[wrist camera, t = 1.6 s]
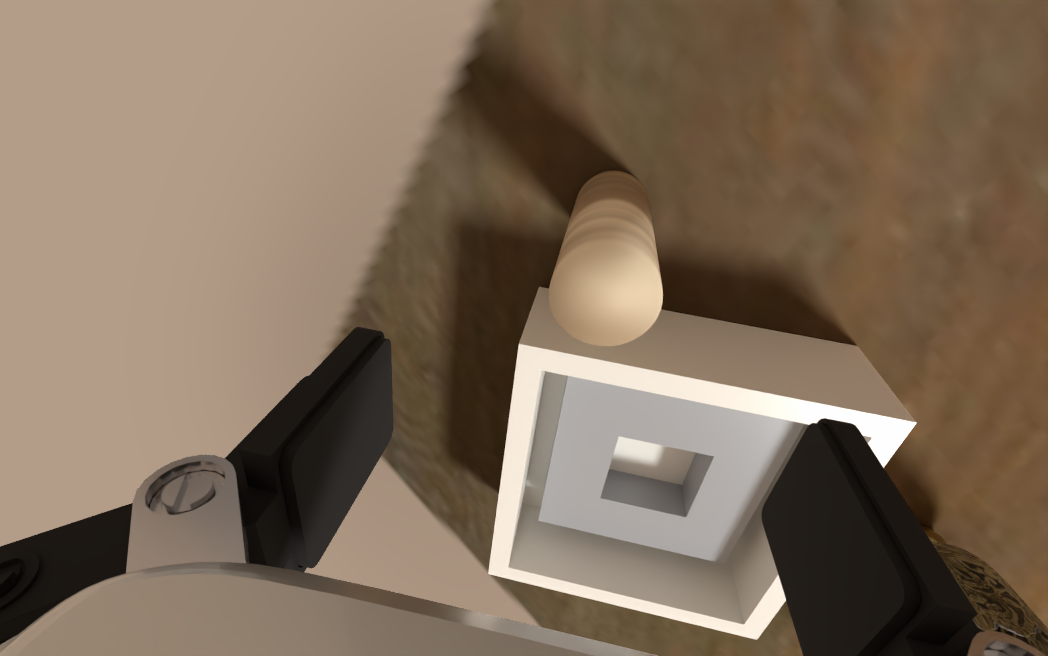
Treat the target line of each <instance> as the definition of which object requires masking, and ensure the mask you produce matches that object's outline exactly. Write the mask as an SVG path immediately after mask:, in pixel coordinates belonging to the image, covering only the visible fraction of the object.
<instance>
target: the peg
mask: <svg viewBox="0 0 1048 656" xmlns="http://www.w3.org/2000/svg"><path fill="white" fill-rule="evenodd" d="M662 303H663V289H662V282H661V276H660V269H659V263H658V257H657V250H656V244H655V237H654V231H653V224H652V218H651V211H650V205H649V199H648V195H647V192H646V190H645V188H644V186H643V185H642V184H641V182H640V181H639V180H638V179H636V178H635V177H634V176H632V175H630V174H628V173H625V172H622V171H605V172H602V173H599V174H597V175H595V176H593V177H592V178H590V179H589V180H588V181H587V182H586V183H585V184H584V185H583V186H582V188H581V189H580V191H579V193H578V196H577V199H576V202H575V205H574V208H573V211H572V215H571V218H570V221H569V224H568V228H567V231H566V234H565V237H564V240H563V244H562V247H561V250H560V253H559V256H558V260H557V263H556V266H555V269H554V272H553V276H552V279H551V282H550V286H549V304H550V308H551V311H552V314H553V316H554V318H555V320H556V321H557V322H558V324H559V325H560V326H561V327H562V328H563V330H565V331H566V332H567V333H568V334H569V335H571V336H572V337H574V338H576V339H578V340H580V341H582V342H585V343H588V344H591V345H597V346H616V345H621V344H624V343H628V342H630V341H632V340H635V339H636V338H638V337H640V336H641V335H643V334H644V333H645V332H646V331H647V330H648V329H649V328H650V327H651V326H652V325H653V324H654V322H655V321H656V319H657V317H658V316H659V313H660V311H661V307H662Z"/></svg>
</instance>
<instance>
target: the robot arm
mask: <svg viewBox="0 0 1048 656" xmlns="http://www.w3.org/2000/svg"><path fill="white" fill-rule="evenodd" d="M392 432H393V400H392V364H391V342H390V340H389V339H385V338H384V334H383V333H382V332H381V331H376V330H371V329H366V328H361V327H356V328H355V329H354V330H353V331H352V332H351V333H350V334H349V335H348V336H347V337H346V338H345V339H344V340H343V341H342V342H341V343H340V344H339V345H338V346H337V347H336V348H335V349H334V350H333V352H332V353H331V354H330V355H329V356H328V357H327V358H326V359H325V360H324V361H323V362H322V363H321V364H320V365H319V366H318V367H317V368H316V369H315V370H314V371H313V372H312V373H311V375H309V376H306V377H304V378H303V379H302V380H301V381H300V382H299V383H298V384H297V385H296V386H295V387H294V388H293V389H292V390H291V391H290V392H289V393H288V394H287V395H286V396H285V397H284V398H283V399H282V400H281V401H280V402H279V403H278V404H277V405H276V406H275V407H274V408H273V409H272V410H271V411H270V412H269V413H268V414H267V416H266V417H265V418H264V419H263V420H262V421H261V422H260V423H259V424H258V425H257V426H256V427H255V428H254V429H253V430H252V431H251V432H250V433H249V434H248V435H247V436H246V437H245V438H244V439H243V440H242V441H241V442H240V443H239V444H238V445H237V447H236V448H235V449H233V451H232V452H231V453H230V454H229V455H228V456H227V457H226V458H221V457H218V456H215V455H197V456H191V457H186V458H183V459H180V460H177V461H174V462H171V463H169V464H168V465H166V466H164V467H162V468H160V469H158V470H157V471H156V472H154V473H153V474H152V475H150V476H149V477H148V478H147V479H145V480H144V482H143V483H142V484H141V486H140V487H139V488H138V490H137V491H136V494H135V497H134V500H133V503H132V504H129V505H125V506H122V507H119V508H116V509H113V510H110V511H107V512H104V513H101V514H98V515H95V516H92V517H89V518H86V519H83V520H80V521H77V522H74V523H71V524H68V525H65V526H62V527H59V528H55V529H53V530H49V531H46V532H43V533H40V534H38V535H34V536H31V537H28V538H25V539H22V540H19V541H16V542H13V543H10V544H7V545H4V546H1V547H0V656H658V655H653V654H649V653H645V652H641V651H637V650H633V649H629V648H625V647H621V646H616V645H612V644H608V643H604V642H600V641H596V640H592V639H588V638H584V637H579V636H575V635H571V634H567V633H563V632H559V631H555V630H550V629H546V628H542V627H538V626H534V625H529V624H525V623H521V622H517V621H513V620H509V619H505V618H500V617H496V616H492V615H488V614H484V613H479V612H475V611H471V610H467V609H463V608H458V607H453V606H450V605H446V604H441V603H437V602H433V601H429V600H424V599H420V598H416V597H412V596H408V595H403V594H399V593H395V592H391V591H386V590H382V589H378V588H373V587H369V586H364V585H360V584H355V583H350V582H346V581H341V580H336V579H332V578H328V577H323V576H318V575H313V574H309V573H305V572H304V571H305V570H306V568H307V567H308V568H314V567H315V566H316V565H317V563H318V562H319V560H320V559H321V557H322V555H323V554H324V552H325V550H326V548H327V547H328V545H329V543H330V542H331V540H332V538H333V537H334V535H335V533H336V532H337V530H338V528H339V526H340V525H341V523H342V521H343V520H344V518H345V516H346V515H347V513H348V511H349V510H350V508H351V506H352V504H353V503H354V501H355V499H356V498H357V496H358V494H359V492H360V491H361V489H362V487H363V485H364V484H365V482H366V481H367V479H368V477H369V475H370V474H371V472H372V470H373V468H374V467H375V465H376V463H377V462H378V460H379V458H380V457H381V455H382V453H383V452H384V450H385V448H386V447H387V445H388V443H389V441H390V439H391V436H392ZM761 516H762V524H763V527H764V530H765V533H766V537H767V540H768V543H769V546H770V549H771V553H772V556H773V559H774V562H775V566H776V569H777V572H778V575H779V578H780V582H781V585H782V588H783V591H784V595H785V598H786V601H787V604H788V607H789V611H790V614H791V617H792V620H793V624H794V627H795V630H796V633H797V636H798V640H799V643H800V646H801V649H802V653H803V656H1045V655H1044V654H1043V653H1041V652H1040V651H1039V650H1037V649H1035V648H1034V647H1032V646H1030V645H1028V644H1027V643H1025V642H1023V641H1022V640H1020V639H1017V638H1015V637H1012V636H1010V635H1007V634H1005V633H1002V632H995V631H989V630H988V631H984V632H980V630H979V629H978V627H977V626H976V624H975V623H974V621H973V618H974V617H975V616H976V615H977V614H978V613H977V612H976V610H975V609H974V607H973V606H972V604H971V603H970V601H969V599H968V598H967V596H966V595H965V593H964V592H963V590H962V589H961V587H960V586H959V584H958V582H957V581H956V579H955V578H954V576H953V575H952V573H951V572H950V570H949V568H948V567H947V565H946V564H945V562H944V561H943V559H942V558H941V556H940V555H939V553H938V551H937V550H936V548H935V547H934V545H933V544H932V542H931V541H930V539H929V537H928V536H927V534H926V533H925V531H924V530H923V528H922V527H921V525H920V524H919V522H918V520H917V519H916V517H915V516H914V514H913V513H912V511H911V510H910V508H909V506H908V505H907V503H906V502H905V500H904V499H903V497H902V496H901V494H900V493H899V491H898V489H897V488H896V486H895V485H894V483H893V482H892V480H891V479H890V477H889V475H888V474H887V472H886V471H885V469H884V468H883V466H882V465H881V463H880V462H879V460H878V458H877V457H876V455H875V454H874V452H873V451H872V449H871V448H870V446H869V444H868V443H867V441H866V440H865V438H864V437H863V435H862V434H861V432H860V431H859V429H858V428H857V427H856V425H854V424H852V423H847V422H842V421H837V420H832V419H827V418H823V419H820V420H819V421H818V422H817V423H811V424H810V425H809V426H808V427H807V429H806V430H805V432H804V434H803V436H802V437H801V439H800V441H799V443H798V445H797V446H796V448H795V450H794V452H793V453H792V455H791V457H790V459H789V461H788V462H787V464H786V466H785V468H784V470H783V471H782V473H781V475H780V477H779V478H778V480H777V482H776V484H775V486H774V487H773V489H772V491H771V493H770V495H769V496H768V498H767V500H766V502H765V503H764V506H763V508H762V515H761Z"/></svg>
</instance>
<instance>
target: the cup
mask: <svg viewBox="0 0 1048 656" xmlns="http://www.w3.org/2000/svg"><path fill="white" fill-rule="evenodd" d="M921 527H922V528H923V530H924V531H925V533H926V534H927V536H928V537H929V539H930V541H931V542H932V544H933V545H934V547H935V548H936V550H937V551H938V553H939V555H940V556H941V558H942V559H943V561H944V562H945V564H946V565H947V567H948V568H949V570H950V572H951V573H952V575H953V576H954V578H955V579H956V581H957V582H958V584H959V586H960V587H961V589H962V590H963V592H964V593H965V595H966V596H967V598H968V599H969V601H970V603H971V604H972V606H973V607H974V609H975V610H976V612H977V613H978V614H977V615H976V616H975V617H974V618H973V621H974V623H975V624H976V626H977V627H978V629H979V630H980V632H984V631H988V630H989V631H995V632H1002V633H1005V634H1007V635H1010V636H1012V637H1015V638H1017V639H1020V640H1022V641H1023V642H1025V643H1027V644H1028V645H1030V646H1032V647H1034V648H1035V649H1037V650H1039V651H1040V652H1041V653H1043V654H1044V655H1045V656H1048V629H1047V627H1046V626H1045V625H1044V624H1043V623H1042V622H1041V620H1040V619H1039V618H1038V617H1037V616H1036V615H1035V614H1034V612H1033V611H1032V610H1031V609H1030V608H1029V607H1028V606H1027V604H1026V603H1025V602H1024V601H1023V600H1022V599H1021V598H1020V597H1019V595H1018V594H1017V593H1016V592H1015V591H1014V590H1013V589H1012V588H1011V587H1010V586H1009V584H1008V583H1007V582H1006V581H1005V580H1004V579H1003V578H1002V577H1001V576H1000V575H999V574H998V573H997V572H996V571H995V570H993V569H992V568H991V567H990V566H989V565H988V564H986V563H985V562H984V561H982V560H981V559H979V558H978V557H977V556H975V555H973V554H971V553H969V552H967V551H965V550H963V549H961V548H958V547H955V546H952V545H949V544H947V543H946V541H945V540H944V539H943V538H942V537H941V536H940V535H939V534H937V533H936V532H935V531H933V530H931V529H930V528H927V527H925V526H921Z"/></svg>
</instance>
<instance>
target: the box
mask: <svg viewBox="0 0 1048 656" xmlns="http://www.w3.org/2000/svg"><path fill="white" fill-rule="evenodd" d="M823 418H827V419H832V420H837V421H842V422H847V423H852V424H854V425H856V427H857V428H858V429H859V431H860V432H861V434H862V435H863V437H864V438H865V440H866V441H867V443H868V444H869V446H870V448H871V449H872V451H873V452H874V454H875V455H876V457H877V458H878V460H879V462H880V463H881V465H882V466H883V468H884V466H885V465H886V464H887V462H888V461H889V460H890V458H891V457H892V455H893V454H894V453H895V451H896V450H897V449H898V447H899V446H900V445H901V443H902V442H903V441H904V439H905V438H906V436H907V435H908V434H909V432H910V431H911V430H912V428H913V427H914V426H915V424H916V421H915V420H914V419H913V417H912V416H911V415H910V414H909V412H908V411H907V410H906V408H905V407H904V406H903V404H902V403H901V402H900V401H899V399H898V398H897V397H896V395H895V394H894V393H893V391H892V390H891V389H890V388H889V386H888V385H887V384H886V382H885V381H884V380H883V378H882V377H881V376H880V375H879V373H878V372H877V371H876V369H875V368H874V367H873V366H872V364H871V363H870V362H869V360H868V359H867V358H866V356H865V355H864V354H863V353H862V351H861V350H860V349H859V347H858V346H855V345H849V344H844V343H839V342H833V341H828V340H822V339H817V338H812V337H806V336H801V335H796V334H790V333H785V332H780V331H774V330H769V329H763V328H758V327H753V326H747V325H742V324H737V323H731V322H726V321H721V320H715V319H710V318H704V317H699V316H694V315H688V314H683V313H678V312H672V311H667V310H662V309H661V311H660V313H659V316H658V317H657V319H656V321H655V322H654V324H653V325H652V326H651V327H650V328H649V329H648V330H647V331H646V332H645V333H644V334H643V335H641V336H640V337H638V338H636V339H635V340H632V341H630V342H628V343H624V344H621V345H616V346H597V345H591V344H588V343H585V342H582V341H580V340H578V339H576V338H574V337H572V336H571V335H569V334H568V333H567V332H566V331H565V330H563V328H562V327H561V326H560V325H559V324H558V322H557V321H556V320H555V318H554V316H553V314H552V311H551V308H550V304H549V288H543V287H539V288H538V291H537V294H536V297H535V299H534V302H533V305H532V308H531V311H530V314H529V316H528V319H527V322H526V325H525V328H524V331H523V333H522V336H521V339H520V342H519V346H518V354H517V362H516V369H515V377H514V384H513V392H512V399H511V407H510V414H509V422H508V429H507V437H506V445H505V452H504V460H503V467H502V475H501V482H500V490H499V497H498V505H497V512H496V520H495V528H494V535H493V543H492V550H491V558H490V565H489V573H488V574H491V575H495V576H499V577H503V578H507V579H511V580H515V581H519V582H524V583H528V584H532V585H536V586H540V587H544V588H548V589H552V590H556V591H560V592H564V593H568V594H572V595H577V596H581V597H585V598H589V599H593V600H597V601H601V602H605V603H609V604H613V605H617V606H621V607H626V608H630V609H634V610H638V611H642V612H646V613H650V614H654V615H658V616H662V617H666V618H670V619H675V620H679V621H683V622H687V623H691V624H695V625H699V626H703V627H707V628H711V629H715V630H719V631H723V632H728V633H732V634H736V635H740V636H744V637H748V638H752V639H756V640H757V639H758V638H759V636H760V635H761V634H762V632H763V631H764V630H765V628H766V627H767V626H768V624H769V623H770V621H771V620H772V619H773V617H774V616H775V615H776V613H777V612H778V611H779V609H780V608H781V606H782V605H783V604H784V602H785V601H786V598H785V595H784V591H783V588H782V585H781V582H780V578H779V575H778V572H777V569H776V566H775V562H774V559H773V556H772V553H771V549H770V546H769V543H768V540H767V537H766V533H765V530H764V527H763V524H762V516H761V515H762V508H763V506H764V503H765V502H766V500H767V498H768V496H769V495H770V493H771V491H772V489H773V487H774V486H775V484H776V482H777V480H778V478H779V477H780V475H781V473H782V471H783V470H784V468H785V466H786V464H787V462H788V461H789V459H790V457H791V455H792V453H793V452H794V450H795V448H796V446H797V445H798V443H799V441H800V439H801V437H802V436H803V434H804V432H805V430H806V429H807V427H808V426H809V425H810V424H811V423H817V422H818V421H819V420H820V419H823Z"/></svg>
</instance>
